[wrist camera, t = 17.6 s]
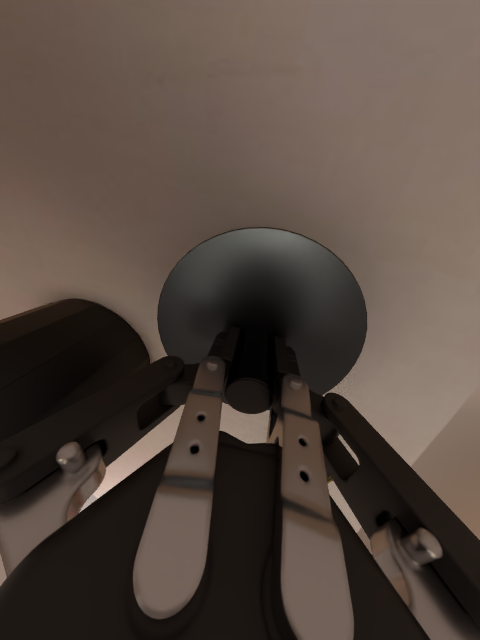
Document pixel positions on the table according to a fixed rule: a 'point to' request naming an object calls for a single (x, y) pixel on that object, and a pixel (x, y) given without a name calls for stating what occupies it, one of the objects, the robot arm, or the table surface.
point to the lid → (264, 310)
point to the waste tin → (61, 359)
